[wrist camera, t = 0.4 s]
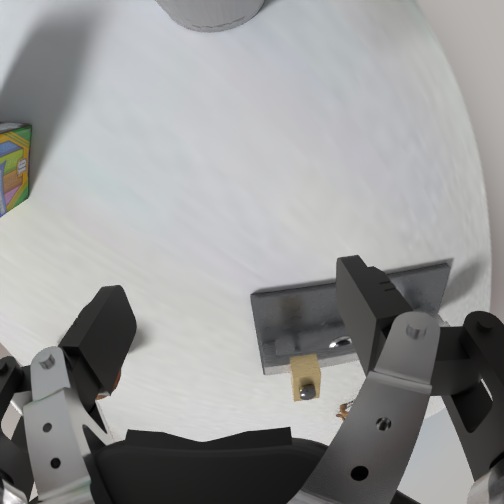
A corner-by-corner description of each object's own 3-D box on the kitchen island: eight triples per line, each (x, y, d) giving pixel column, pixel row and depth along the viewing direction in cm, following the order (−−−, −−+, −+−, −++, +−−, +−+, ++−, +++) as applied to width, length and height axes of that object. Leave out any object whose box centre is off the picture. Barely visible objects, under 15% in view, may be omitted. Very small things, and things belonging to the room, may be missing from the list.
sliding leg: (285, 334, 34) (294, 385, 27) (310, 330, 34) (322, 381, 27) (287, 359, 37) (295, 408, 30) (310, 356, 37) (320, 404, 30)
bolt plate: (250, 294, 33) (250, 301, 32) (446, 263, 32) (451, 268, 31) (263, 369, 40) (263, 375, 39) (424, 337, 39) (427, 342, 38)
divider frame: (260, 334, 35) (264, 388, 28) (438, 300, 34) (467, 340, 27) (264, 359, 37) (269, 410, 30) (430, 326, 36) (454, 366, 29)
